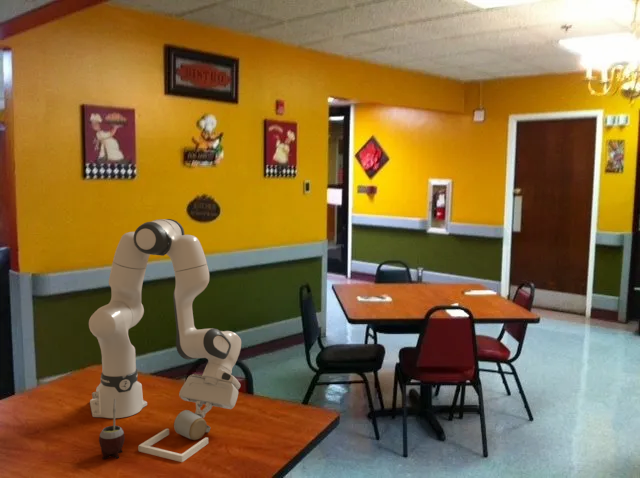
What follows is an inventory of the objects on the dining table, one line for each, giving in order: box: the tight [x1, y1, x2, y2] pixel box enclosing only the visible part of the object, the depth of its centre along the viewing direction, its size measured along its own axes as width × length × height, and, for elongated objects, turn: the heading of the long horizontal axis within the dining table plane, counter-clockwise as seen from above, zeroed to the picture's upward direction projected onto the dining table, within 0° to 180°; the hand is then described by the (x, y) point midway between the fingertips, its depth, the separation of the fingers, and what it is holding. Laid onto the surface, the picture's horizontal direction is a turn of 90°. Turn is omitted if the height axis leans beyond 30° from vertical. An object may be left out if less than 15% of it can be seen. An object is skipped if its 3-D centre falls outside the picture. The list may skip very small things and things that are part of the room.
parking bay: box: [137, 428, 209, 463], centre depth 176 cm, size 16×13×2 cm
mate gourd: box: [98, 399, 126, 460], centre depth 171 cm, size 8×8×15 cm
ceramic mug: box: [173, 409, 211, 441], centre depth 184 cm, size 11×8×8 cm
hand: (199, 416), depth 187 cm, fingers closed
